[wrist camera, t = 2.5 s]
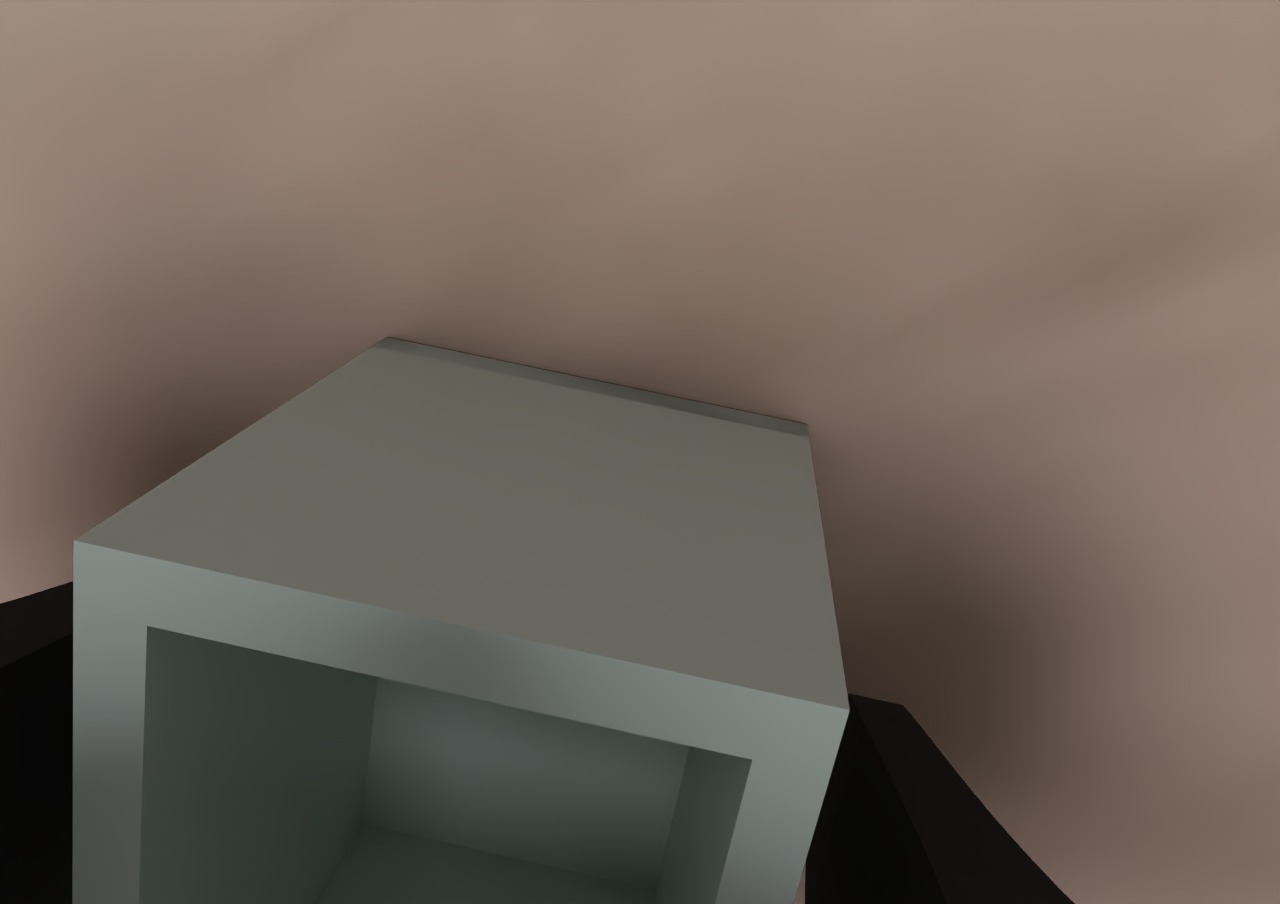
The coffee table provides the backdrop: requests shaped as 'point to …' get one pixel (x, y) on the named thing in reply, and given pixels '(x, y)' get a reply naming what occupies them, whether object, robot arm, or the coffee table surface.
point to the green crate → (460, 652)
